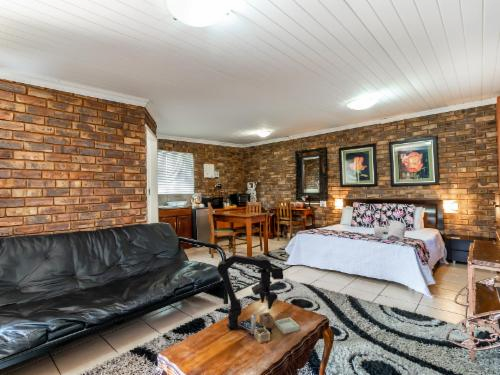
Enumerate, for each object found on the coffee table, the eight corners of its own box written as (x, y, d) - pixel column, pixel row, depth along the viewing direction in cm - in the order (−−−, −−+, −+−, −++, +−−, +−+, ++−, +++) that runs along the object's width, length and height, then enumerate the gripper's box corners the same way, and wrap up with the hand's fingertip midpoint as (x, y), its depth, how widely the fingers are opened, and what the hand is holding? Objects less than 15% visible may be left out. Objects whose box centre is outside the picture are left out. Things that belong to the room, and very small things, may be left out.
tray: (274, 325, 161) (274, 321, 161) (289, 321, 165) (289, 317, 165) (283, 334, 151) (283, 329, 151) (299, 329, 156) (299, 325, 156)
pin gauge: (250, 332, 154) (250, 314, 154) (254, 331, 155) (254, 313, 155) (252, 334, 151) (252, 317, 151) (256, 333, 152) (256, 315, 152)
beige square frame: (254, 336, 149) (254, 329, 149) (264, 334, 152) (264, 327, 152) (259, 343, 143) (259, 335, 143) (270, 340, 146) (270, 332, 146)
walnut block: (259, 324, 162) (259, 314, 162) (268, 322, 165) (268, 312, 165) (263, 329, 157) (263, 318, 157) (273, 326, 159) (272, 316, 159)
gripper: (246, 276, 165) (247, 302, 166) (259, 287, 148) (260, 315, 149) (263, 273, 170) (263, 298, 170) (277, 284, 153) (278, 311, 153)
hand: (265, 305), depth 160 cm, fingers open, 9 cm apart
